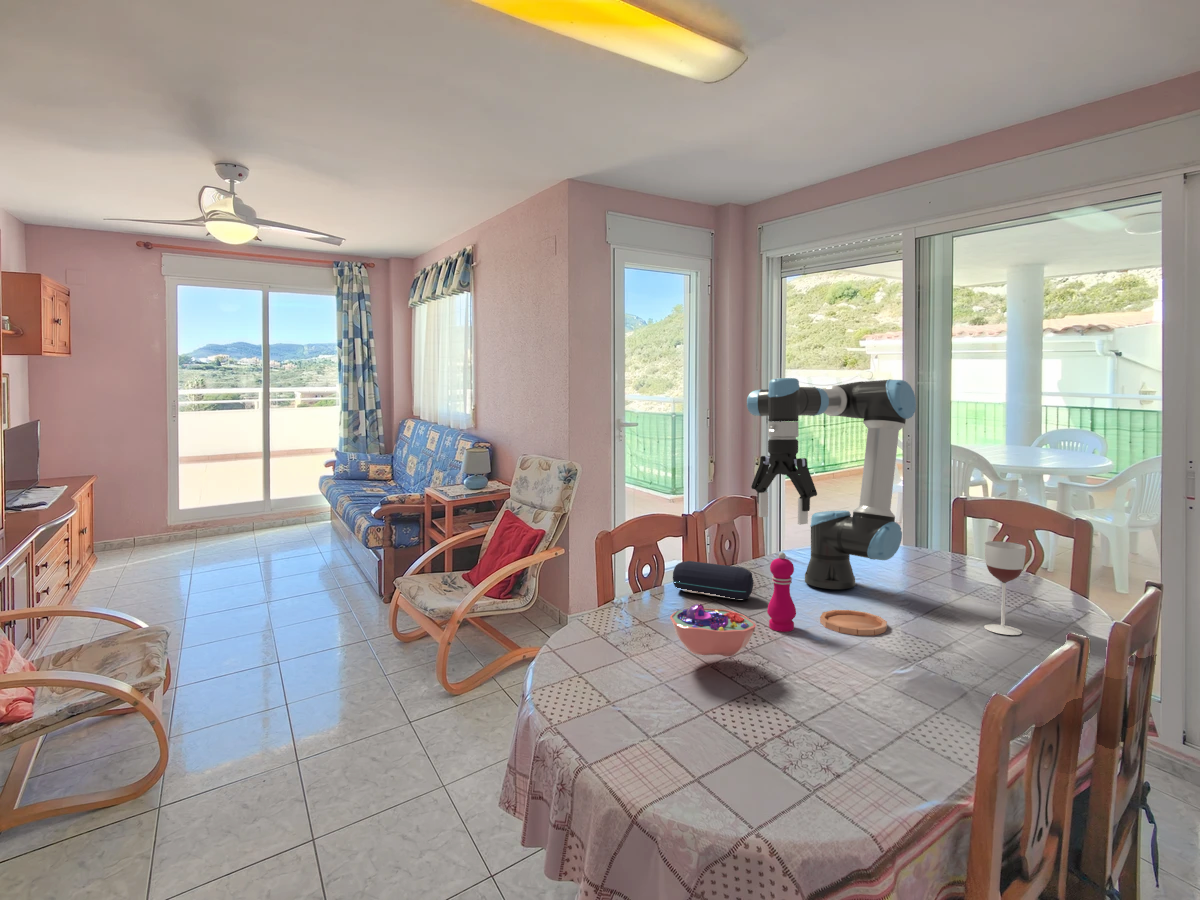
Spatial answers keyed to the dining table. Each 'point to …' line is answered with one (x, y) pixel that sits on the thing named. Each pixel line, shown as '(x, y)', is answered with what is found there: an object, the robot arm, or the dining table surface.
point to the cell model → (712, 630)
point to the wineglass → (1004, 574)
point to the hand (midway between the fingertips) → (782, 520)
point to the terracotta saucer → (853, 622)
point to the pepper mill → (781, 595)
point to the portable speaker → (714, 579)
